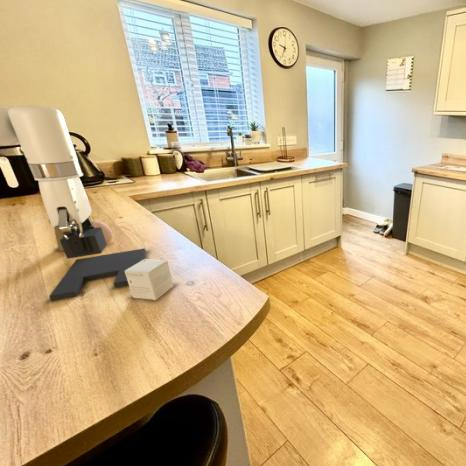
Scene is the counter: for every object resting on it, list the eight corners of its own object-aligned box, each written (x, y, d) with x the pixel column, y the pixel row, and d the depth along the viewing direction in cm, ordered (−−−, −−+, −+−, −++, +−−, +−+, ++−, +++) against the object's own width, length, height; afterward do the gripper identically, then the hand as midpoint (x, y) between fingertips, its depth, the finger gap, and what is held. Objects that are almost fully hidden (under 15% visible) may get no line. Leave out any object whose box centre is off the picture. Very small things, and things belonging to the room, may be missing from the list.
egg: (85, 252, 87) (75, 227, 84) (88, 244, 93) (79, 220, 90) (114, 247, 91) (106, 222, 88) (116, 239, 97) (108, 216, 93)
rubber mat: (51, 301, 65) (49, 296, 64) (78, 264, 81) (76, 259, 80) (137, 284, 72) (135, 279, 71) (145, 252, 88) (144, 248, 87)
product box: (132, 298, 66) (122, 270, 63) (152, 284, 72) (144, 258, 69) (156, 300, 65) (148, 272, 63) (174, 286, 71) (168, 260, 68)
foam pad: (67, 258, 64) (59, 240, 62) (75, 248, 69) (68, 231, 67) (101, 253, 66) (94, 235, 65) (106, 243, 71) (101, 227, 70)
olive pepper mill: (62, 245, 92) (49, 212, 88) (86, 242, 95) (75, 210, 90) (55, 252, 87) (41, 218, 83) (81, 249, 90) (68, 215, 86)
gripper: (49, 165, 66) (77, 238, 73) (12, 179, 52) (51, 267, 59) (91, 163, 69) (114, 232, 76) (67, 176, 55) (98, 259, 62)
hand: (86, 247), depth 67 cm, fingers closed on foam pad, 6 cm apart
